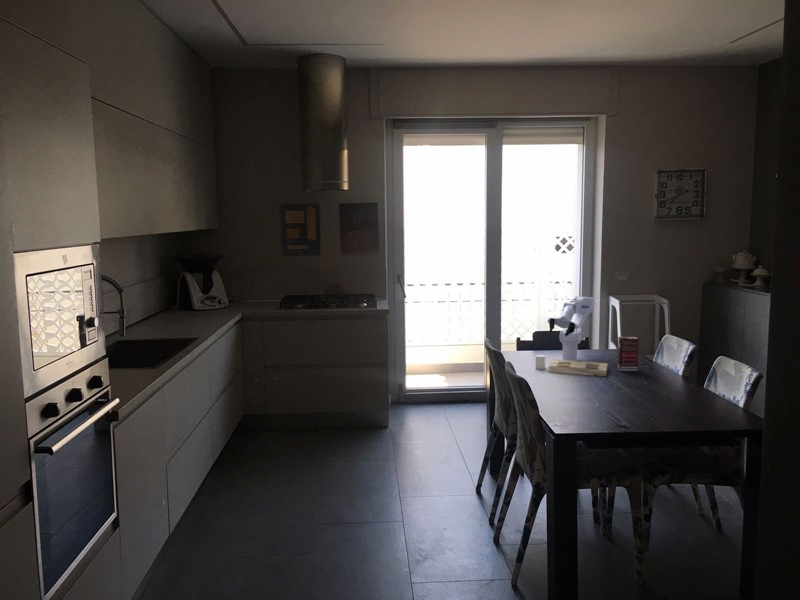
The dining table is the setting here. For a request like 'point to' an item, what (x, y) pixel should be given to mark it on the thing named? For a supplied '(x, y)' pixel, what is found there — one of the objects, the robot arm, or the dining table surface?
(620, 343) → the supplement box
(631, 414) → the dining table surface
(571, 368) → the socket block
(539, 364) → the plug
